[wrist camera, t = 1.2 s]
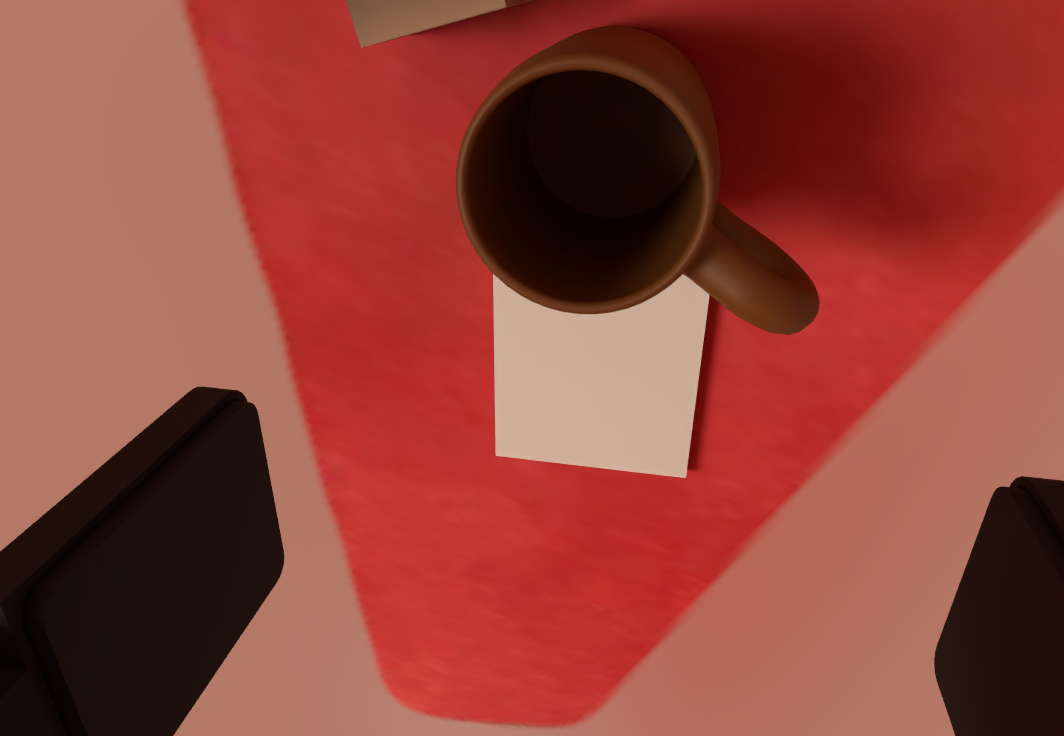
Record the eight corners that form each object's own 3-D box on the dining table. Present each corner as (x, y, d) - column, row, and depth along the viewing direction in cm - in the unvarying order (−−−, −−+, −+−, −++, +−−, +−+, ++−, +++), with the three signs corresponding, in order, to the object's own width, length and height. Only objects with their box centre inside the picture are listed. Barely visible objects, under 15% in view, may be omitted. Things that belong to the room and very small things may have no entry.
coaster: (496, 253, 32) (493, 257, 32) (711, 268, 31) (712, 274, 30) (498, 448, 37) (495, 455, 37) (686, 470, 36) (685, 477, 35)
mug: (855, 162, 28) (922, 242, 20) (729, 317, 32) (741, 439, 24) (580, -21, 27) (532, -15, 19) (482, 162, 31) (406, 233, 23)
